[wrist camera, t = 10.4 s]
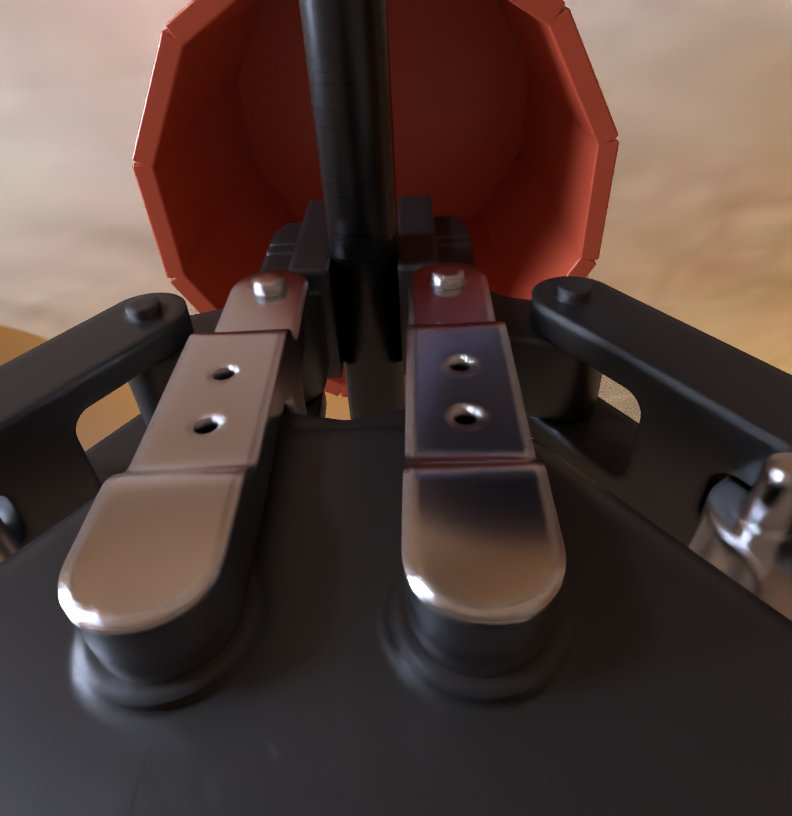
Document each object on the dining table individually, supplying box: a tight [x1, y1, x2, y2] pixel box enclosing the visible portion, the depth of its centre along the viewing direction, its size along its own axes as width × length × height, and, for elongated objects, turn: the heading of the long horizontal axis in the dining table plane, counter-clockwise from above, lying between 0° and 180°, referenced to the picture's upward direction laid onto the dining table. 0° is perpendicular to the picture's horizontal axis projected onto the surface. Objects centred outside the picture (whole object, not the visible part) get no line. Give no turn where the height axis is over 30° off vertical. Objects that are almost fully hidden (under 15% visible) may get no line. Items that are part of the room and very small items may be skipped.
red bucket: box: [132, 0, 619, 420], centre depth 17 cm, size 11×12×15 cm
